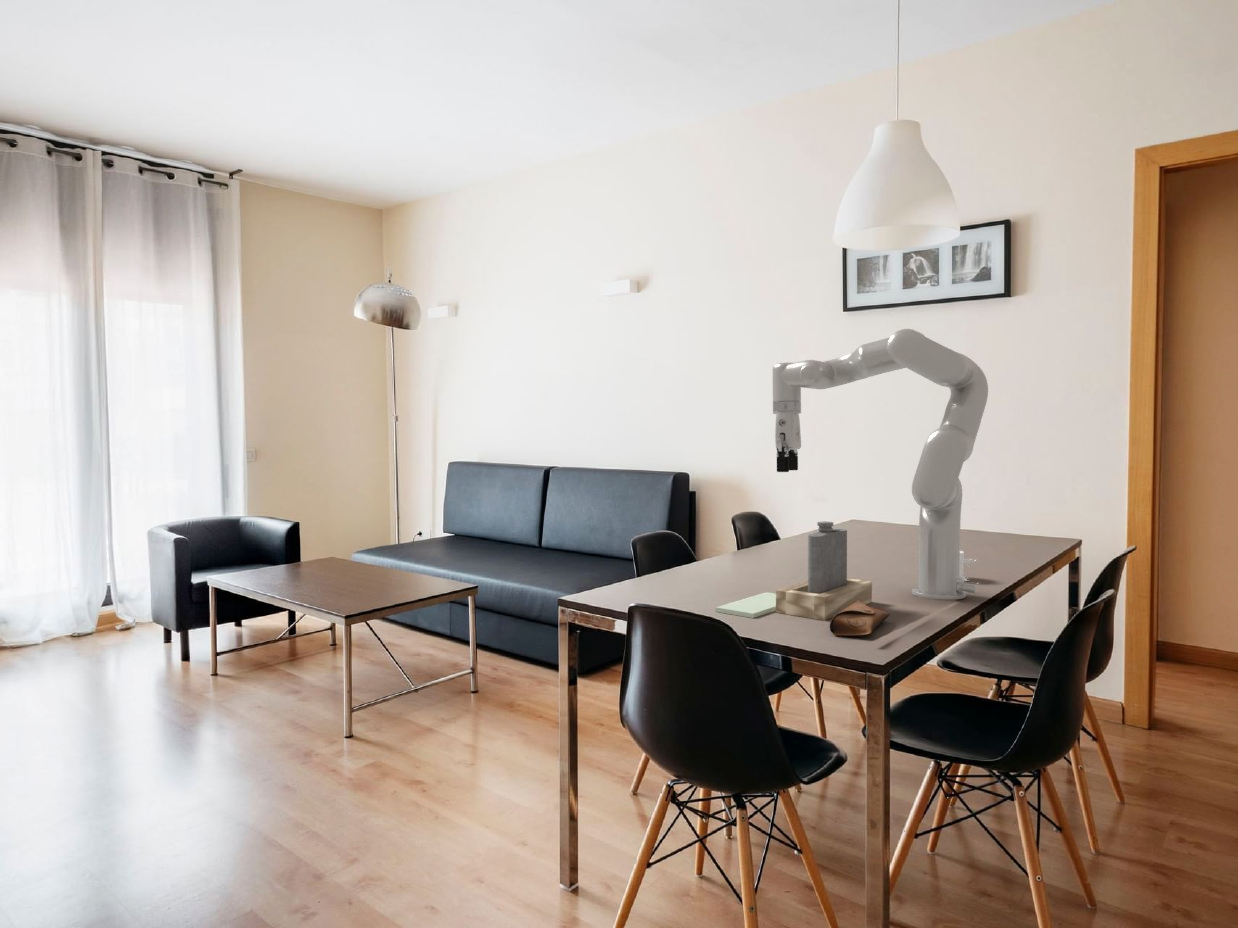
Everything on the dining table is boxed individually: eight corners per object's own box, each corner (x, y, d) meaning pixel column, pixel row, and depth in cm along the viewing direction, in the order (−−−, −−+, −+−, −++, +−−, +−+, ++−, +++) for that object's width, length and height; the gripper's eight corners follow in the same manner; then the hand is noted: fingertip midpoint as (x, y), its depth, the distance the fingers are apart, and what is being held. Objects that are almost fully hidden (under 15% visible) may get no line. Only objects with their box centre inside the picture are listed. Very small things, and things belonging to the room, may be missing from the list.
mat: (802, 601, 195) (802, 597, 195) (753, 618, 178) (753, 613, 178) (766, 596, 201) (766, 592, 201) (715, 611, 185) (715, 607, 185)
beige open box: (871, 601, 194) (871, 581, 193) (824, 620, 176) (824, 597, 175) (825, 595, 202) (825, 575, 201) (775, 612, 184) (775, 590, 183)
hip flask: (818, 614, 181) (818, 525, 180) (801, 612, 184) (802, 524, 183) (849, 602, 193) (849, 519, 192) (833, 600, 196) (833, 518, 195)
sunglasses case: (873, 632, 158) (851, 604, 160) (844, 651, 161) (824, 623, 163) (892, 613, 174) (872, 587, 176) (865, 631, 177) (846, 605, 179)
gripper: (792, 407, 212) (793, 472, 212) (808, 408, 227) (808, 469, 228) (764, 408, 215) (765, 472, 216) (781, 409, 231) (782, 469, 231)
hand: (787, 471), depth 222 cm, fingers open, 9 cm apart
